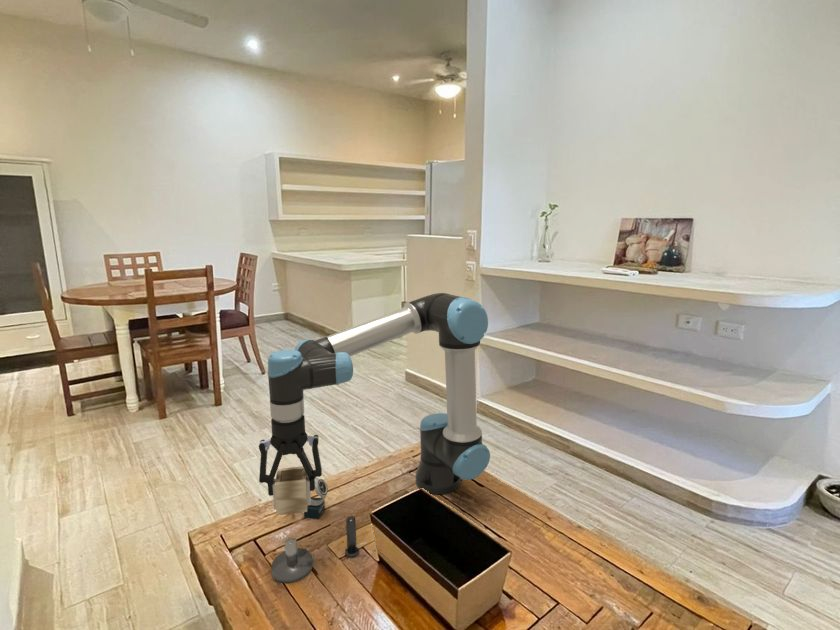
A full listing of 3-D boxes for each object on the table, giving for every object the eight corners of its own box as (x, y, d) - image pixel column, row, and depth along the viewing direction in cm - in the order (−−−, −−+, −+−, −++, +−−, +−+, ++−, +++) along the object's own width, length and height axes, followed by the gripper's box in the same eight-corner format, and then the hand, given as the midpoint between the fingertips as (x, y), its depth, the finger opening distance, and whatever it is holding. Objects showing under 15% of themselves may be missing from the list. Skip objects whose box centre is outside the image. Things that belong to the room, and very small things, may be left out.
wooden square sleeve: (308, 494, 112) (306, 465, 110) (307, 511, 105) (305, 481, 104) (279, 497, 110) (277, 468, 109) (276, 515, 104) (274, 484, 102)
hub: (313, 550, 117) (312, 525, 115) (312, 579, 107) (310, 552, 106) (274, 556, 115) (272, 530, 113) (269, 586, 105) (267, 559, 104)
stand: (358, 546, 118) (357, 513, 116) (359, 556, 115) (358, 522, 113) (345, 548, 117) (343, 515, 115) (345, 558, 114) (343, 524, 112)
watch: (324, 519, 129) (322, 485, 127) (298, 517, 130) (296, 483, 128) (331, 507, 134) (329, 475, 132) (306, 505, 136) (303, 473, 133)
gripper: (331, 406, 109) (334, 490, 113) (245, 413, 105) (252, 499, 109) (331, 419, 102) (334, 508, 106) (239, 426, 98) (247, 518, 102)
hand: (292, 503), depth 108 cm, fingers closed on wooden square sleeve, 7 cm apart
